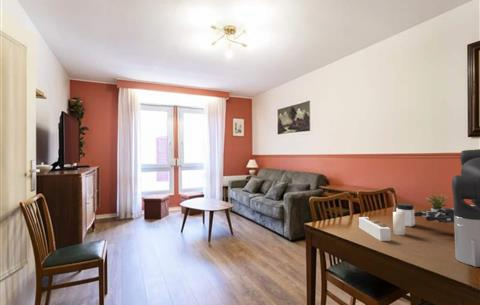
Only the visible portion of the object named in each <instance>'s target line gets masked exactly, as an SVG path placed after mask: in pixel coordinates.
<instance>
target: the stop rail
mask: <svg viewBox="0 0 480 305" xmlns="http://www.w3.org/2000/svg"><path fill="white" fill-rule="evenodd" d="M371 221H372V220H370V217H368V216H359V217H358V228H359V229H361V230H362V231H364V232H366V233H367V234H368V235H370V236H371V237H374V238H375V239H377V240H378V241H380V242H390V241H392V239H391V236H392V235H391V228H390V227H388V226H386V227H380V226H378V225H376V224H374V223H373V222H371Z"/></svg>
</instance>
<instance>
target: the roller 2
mask: <svg viewBox="0 0 480 305" xmlns="http://www.w3.org/2000/svg"><path fill="white" fill-rule="evenodd" d="M376 225H378V226H380V227H387V224H386V223H380V224H376Z"/></svg>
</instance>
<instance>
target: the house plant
mask: <svg viewBox="0 0 480 305" xmlns="http://www.w3.org/2000/svg"><path fill="white" fill-rule="evenodd" d="M429 194H430V195H431V196H429V195H427V197H428V198H427V197H425V199H426V200H427V202H426V203H430V206H431V207H430V211H432V212H433V211H436V212H437V211H438V210H439V209H441V208H443V207H447V206H449V204H448V203H447V202H446V203H444V202H445V201H446V200H447V199H448V198H450V197H451V195H450V196H446V195H445V194H444V195H443V193H441V194H440V195H438V193H437V192H436V196H435V195H434V194H432V193H429ZM429 198H430V199H429Z"/></svg>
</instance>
